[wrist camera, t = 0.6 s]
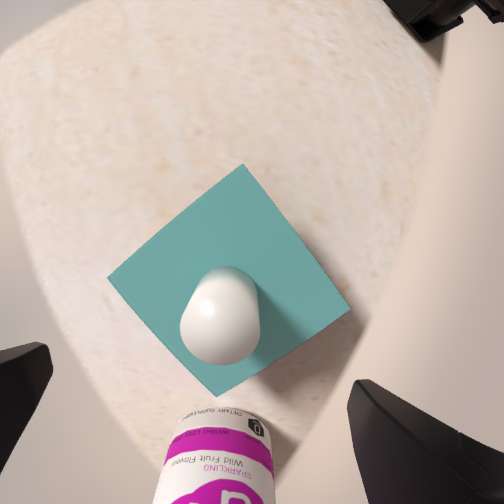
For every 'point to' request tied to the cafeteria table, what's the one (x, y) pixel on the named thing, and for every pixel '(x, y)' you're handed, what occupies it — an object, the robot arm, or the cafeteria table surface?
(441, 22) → the robot arm
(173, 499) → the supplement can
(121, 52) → the cafeteria table surface
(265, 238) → the lid
